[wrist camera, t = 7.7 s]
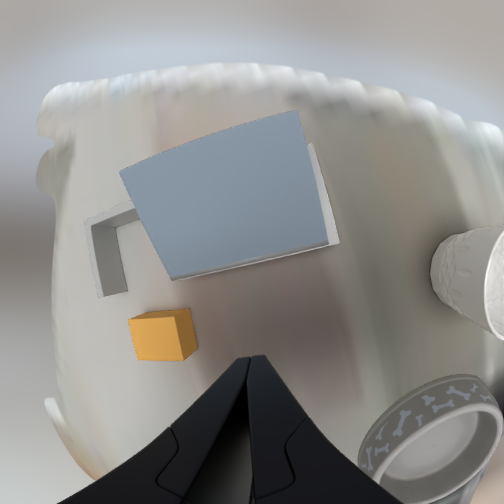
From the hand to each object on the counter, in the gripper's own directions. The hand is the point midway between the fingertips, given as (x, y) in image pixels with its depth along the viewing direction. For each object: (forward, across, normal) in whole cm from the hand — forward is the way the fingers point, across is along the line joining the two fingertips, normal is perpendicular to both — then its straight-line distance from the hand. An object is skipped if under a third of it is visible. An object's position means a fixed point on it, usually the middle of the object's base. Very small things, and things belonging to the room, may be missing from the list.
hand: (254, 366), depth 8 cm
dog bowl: (+6, +16, -26) cm, 31 cm away
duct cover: (+12, -2, +3) cm, 12 cm away
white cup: (+13, +18, -7) cm, 23 cm away
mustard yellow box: (+15, -10, -9) cm, 21 cm away
